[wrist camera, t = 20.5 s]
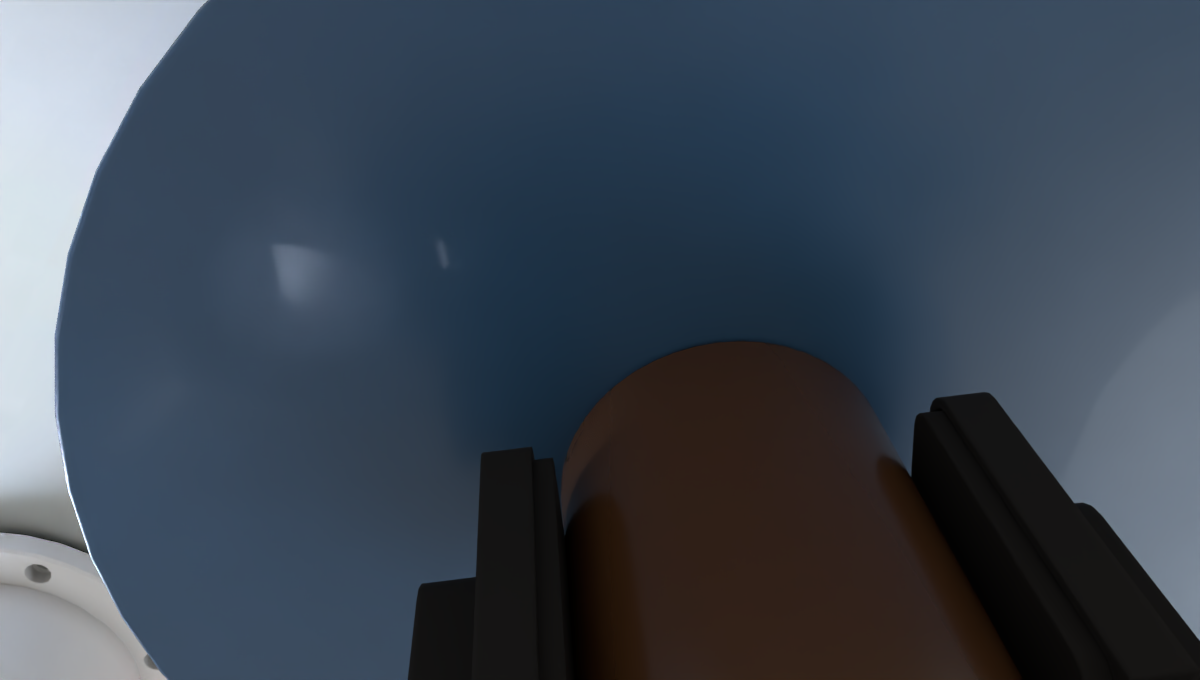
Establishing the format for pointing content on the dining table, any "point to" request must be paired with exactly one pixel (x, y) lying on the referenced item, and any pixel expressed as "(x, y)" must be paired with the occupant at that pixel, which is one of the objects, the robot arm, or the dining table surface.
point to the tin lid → (627, 318)
